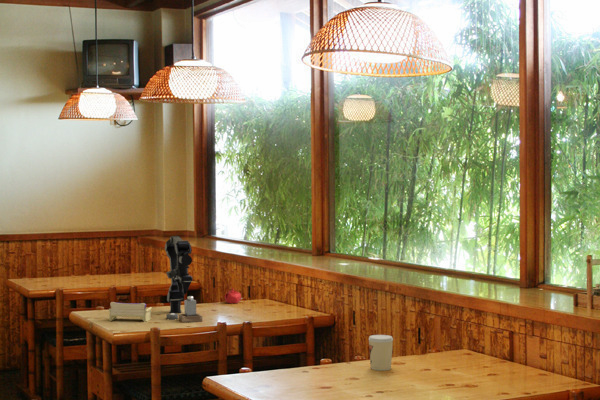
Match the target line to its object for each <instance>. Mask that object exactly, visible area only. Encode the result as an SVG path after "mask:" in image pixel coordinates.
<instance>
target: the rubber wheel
mask: <svg viewBox="0 0 600 400" xmlns="http://www.w3.org/2000/svg"><path fill="white" fill-rule="evenodd" d="M167 319H169V320H168V321H174V320H175V319H176V320H179V313H170V312H169V313H166V320H167Z"/></svg>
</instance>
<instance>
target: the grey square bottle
mask: <svg viewBox="0 0 600 400" xmlns="http://www.w3.org/2000/svg"><path fill="white" fill-rule="evenodd" d="M186 298H187V299H184V301H183V302H184V303H183V304H184V306H183V307H184V314H185V317H187V316H196V313H197V300H196V299H194V296H193V295H189V296H188V295H187V297H186Z"/></svg>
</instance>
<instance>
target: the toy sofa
mask: <svg viewBox="0 0 600 400" xmlns="http://www.w3.org/2000/svg"><path fill="white" fill-rule="evenodd" d="M109 305H110V308H108V312H109V322H112V321H114V320H117V318H118V317H127V318H140V319H141V321H143V322H144V323H146V321H147V322H149V321H151V320H152V312H151V311H152V310H153V309H152V308H153V307H152V306H150V307H148V308H147V304H146V303H145V302H142V303H141V302H140V303H138V302H137V303H135V302H133V303H131V302H130V303H129V302H128V303H127V302H126V303H125V302H115V301H111V302H110V303H109Z"/></svg>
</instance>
